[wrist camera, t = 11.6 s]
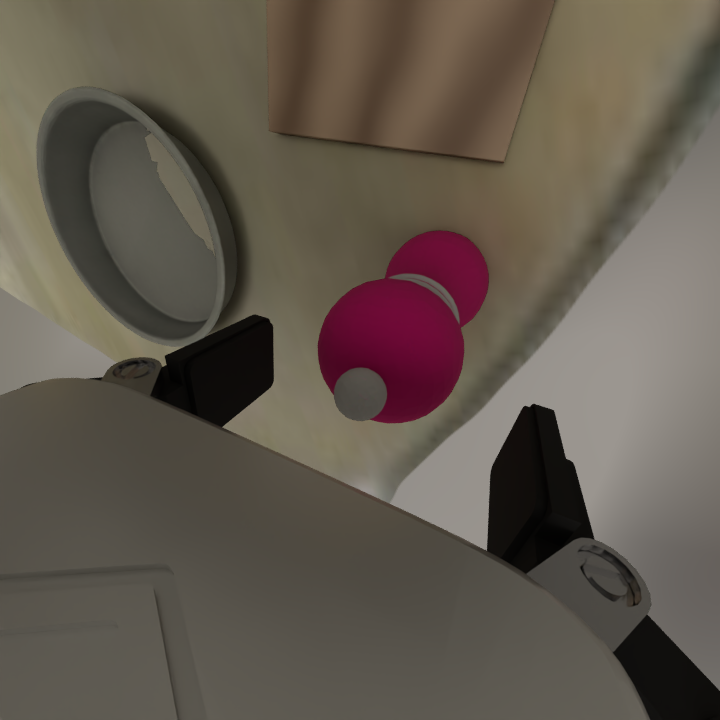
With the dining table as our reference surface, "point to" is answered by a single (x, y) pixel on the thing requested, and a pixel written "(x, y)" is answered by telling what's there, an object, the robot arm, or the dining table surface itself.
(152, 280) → the cake pan
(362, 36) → the brown flat board
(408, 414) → the pepper mill
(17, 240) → the dining table surface
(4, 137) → the dining table surface
